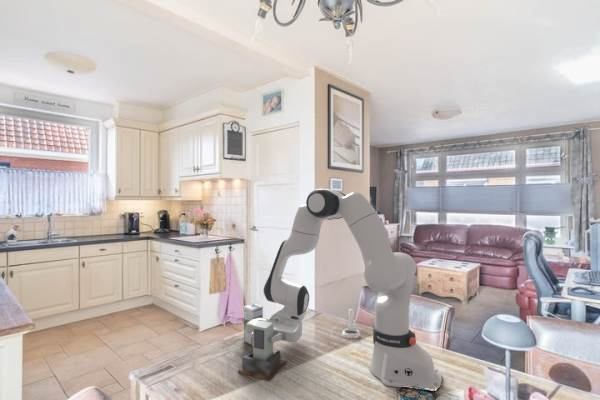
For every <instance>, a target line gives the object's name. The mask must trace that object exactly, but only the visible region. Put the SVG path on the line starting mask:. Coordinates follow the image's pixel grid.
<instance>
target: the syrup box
mask: <svg viewBox="0 0 600 400" xmlns="http://www.w3.org/2000/svg"><path fill="white" fill-rule="evenodd" d="M263 307H264V306H262V305H260V304H257V303H249V304H247V305H244V306H243V341H244V342H245V343H246V344H248V345H250V346H251V347H253V339H252V338H251V334H249V333H247V331H246V324H247V322H249V321H251V320H253V319H256V318H264V308H263Z"/></svg>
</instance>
